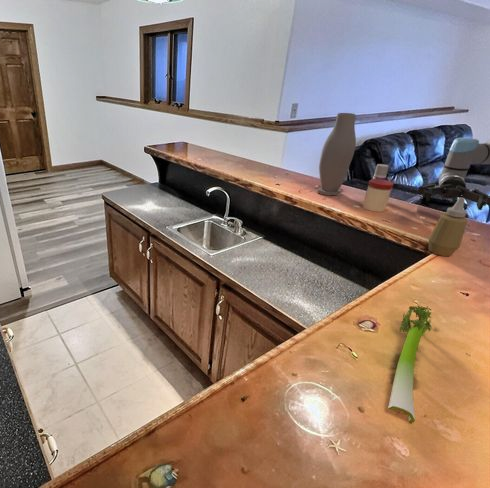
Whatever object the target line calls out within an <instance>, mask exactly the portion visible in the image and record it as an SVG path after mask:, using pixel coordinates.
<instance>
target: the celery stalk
mask: <svg viewBox="0 0 490 488" xmlns="http://www.w3.org/2000/svg"><path fill="white" fill-rule="evenodd" d="M431 311H432V308H430V307H429V306H426V307H425V306H423V305H421V306H420V305H417V306H414V305H413V306H412V305H410V306H409V307H408V310H407V312H406V314H405V312H403V314H402V321H401V324H400V326H399V329H398V330H399V332H401V333H403V334H405V333H407V335H406V338H405V341H404V344H403V347H402V350H401V353H400V356H399V359H398V362H397V365H396V369H395V374H394V378H393V383H392V387H391V392H390V398H389V403H388V407H387V409H388V410H390V411H393V410H395V409H396V410H398V411H401V412H403V413H406V414H407V415H408V422H409V423H410V424H413V423H414V422H415V421H416V416H415V415H416V414H415V403H414V375H415V374H414V373H415V363H416V357H417V351H418V347H419V345H420V342H421V339H422V337H423V336H424V334H425V333H426V332H427V331H428V332H430V331H432V330H433V326H432V325H431V323H432V316H431V315H432V312H431ZM412 313H415V317H416V318H417V319H415V320H414V319H411V317H412ZM412 325H413V326H412Z"/></svg>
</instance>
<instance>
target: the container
mask: <svg viewBox="0 0 490 488" xmlns="http://www.w3.org/2000/svg"><path fill="white" fill-rule="evenodd" d="M389 168H390V165H389V164H384V163H377V165H376V167H375V170H374V174H373V176H372V179H382V180H387V175H388V171H389Z"/></svg>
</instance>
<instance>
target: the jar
mask: <svg viewBox="0 0 490 488" xmlns="http://www.w3.org/2000/svg"><path fill="white" fill-rule="evenodd" d="M392 190H393V188H392V189H377V188H373V187H371V186H369V184H368V186H367V188H366V192H365V197H364V200H363V203H362V208H363V209H365V210H367V211H370V212H375V213H376V212H377V213H382V212H385V211H386V209H387V206H388V204H389V203H388V202H389V199H390V197H391V193H392Z"/></svg>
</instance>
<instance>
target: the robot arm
mask: <svg viewBox="0 0 490 488" xmlns="http://www.w3.org/2000/svg"><path fill="white" fill-rule="evenodd" d="M471 165H490V139H489V140H487V141H486V142H484V143H480V141H479V139H478V138H477V139H476V138H471V137H457V138H454V140H453V141H452V144H451V146H450V147H449V151H448V153H447V157H446V159H445V162H444V165H443V167H442V170H441V173H440V174H439V175H438V180H437V181H438V185H437V184H436V183H435V182H430V183H429V184H428V183H427V184H424V185H420V186H418V188H417V192H416V194H417V195H422V196H421V197H422V198H426V199H425V202H428V203H429V202H430V201H431V198H432V196H436V195H437V196H442V197H443V198H445V199H456V198H458V199H459V198H460V197H461V198H465V199H464V200H468V201H471V202H474V203H475V204H476V207H477V210H478V211H482V209H483V207H486V206H490V195H489V194H486V193H484V192H482V191H480V190H479V189H478V188H474V189H472V190H470V189H469V188H468V187H467V185H466V181H465V178H466V176H467V174H468V171H469V169H470V166H471Z"/></svg>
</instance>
